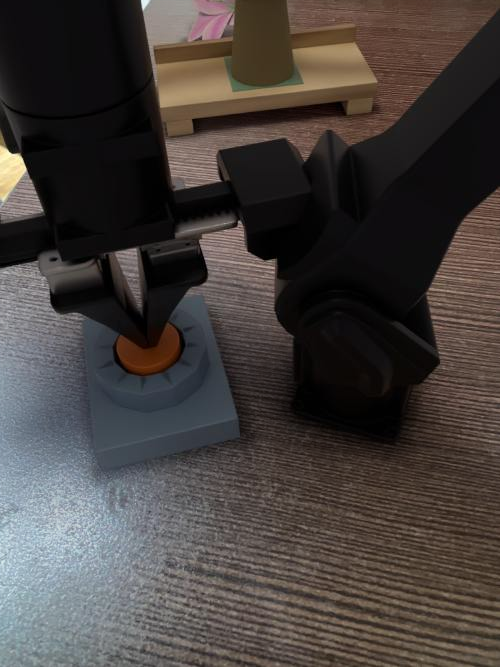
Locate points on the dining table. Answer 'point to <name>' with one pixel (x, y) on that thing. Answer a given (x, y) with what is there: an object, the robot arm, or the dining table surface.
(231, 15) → the lily
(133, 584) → the dining table surface
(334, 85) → the shelf
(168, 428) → the control box
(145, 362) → the bell button
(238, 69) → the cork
